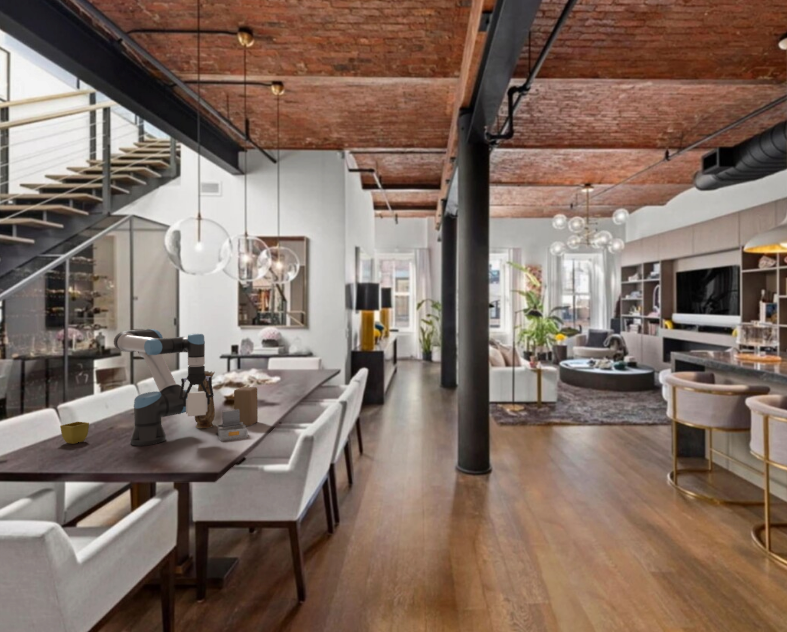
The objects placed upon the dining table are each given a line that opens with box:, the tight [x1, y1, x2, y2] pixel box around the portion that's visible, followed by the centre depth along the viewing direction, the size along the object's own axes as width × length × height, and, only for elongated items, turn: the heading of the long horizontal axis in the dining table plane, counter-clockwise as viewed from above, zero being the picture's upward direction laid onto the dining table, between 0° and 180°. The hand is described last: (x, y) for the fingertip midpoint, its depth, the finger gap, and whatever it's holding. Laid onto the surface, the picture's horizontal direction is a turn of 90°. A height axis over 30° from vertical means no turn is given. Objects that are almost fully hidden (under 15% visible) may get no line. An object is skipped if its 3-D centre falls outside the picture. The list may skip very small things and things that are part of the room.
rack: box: [217, 409, 249, 442], centre depth 233 cm, size 13×16×12 cm
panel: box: [187, 391, 206, 417], centre depth 223 cm, size 8×4×11 cm, turn 116°
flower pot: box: [59, 421, 90, 445], centre depth 223 cm, size 9×9×9 cm
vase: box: [194, 370, 216, 429], centre depth 251 cm, size 10×11×30 cm
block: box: [233, 386, 259, 427], centre depth 256 cm, size 10×10×20 cm
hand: (196, 412), depth 223 cm, fingers closed on panel, 8 cm apart
